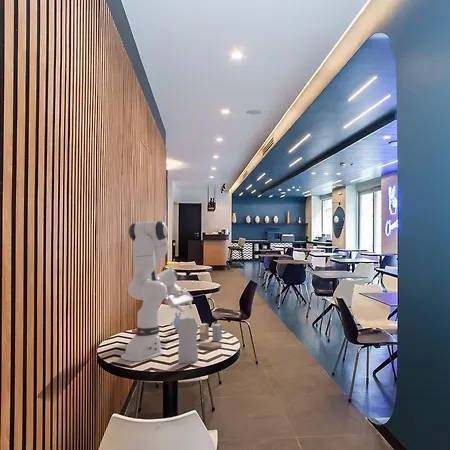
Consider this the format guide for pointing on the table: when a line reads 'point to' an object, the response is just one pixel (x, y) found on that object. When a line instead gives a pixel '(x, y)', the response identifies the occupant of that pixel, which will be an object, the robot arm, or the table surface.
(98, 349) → the table surface
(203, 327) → the birch block
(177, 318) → the toy figure
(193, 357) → the tall pale column
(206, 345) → the walnut board
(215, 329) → the slate grey block
